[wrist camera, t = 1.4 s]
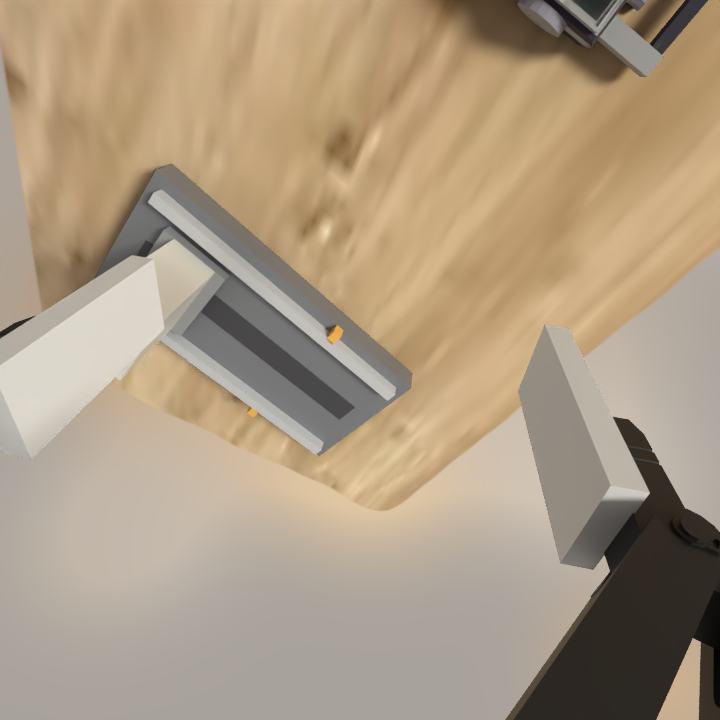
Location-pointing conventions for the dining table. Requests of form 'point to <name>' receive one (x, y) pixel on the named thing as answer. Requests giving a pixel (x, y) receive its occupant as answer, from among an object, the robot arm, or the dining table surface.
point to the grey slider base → (265, 323)
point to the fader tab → (180, 285)
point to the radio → (609, 27)
